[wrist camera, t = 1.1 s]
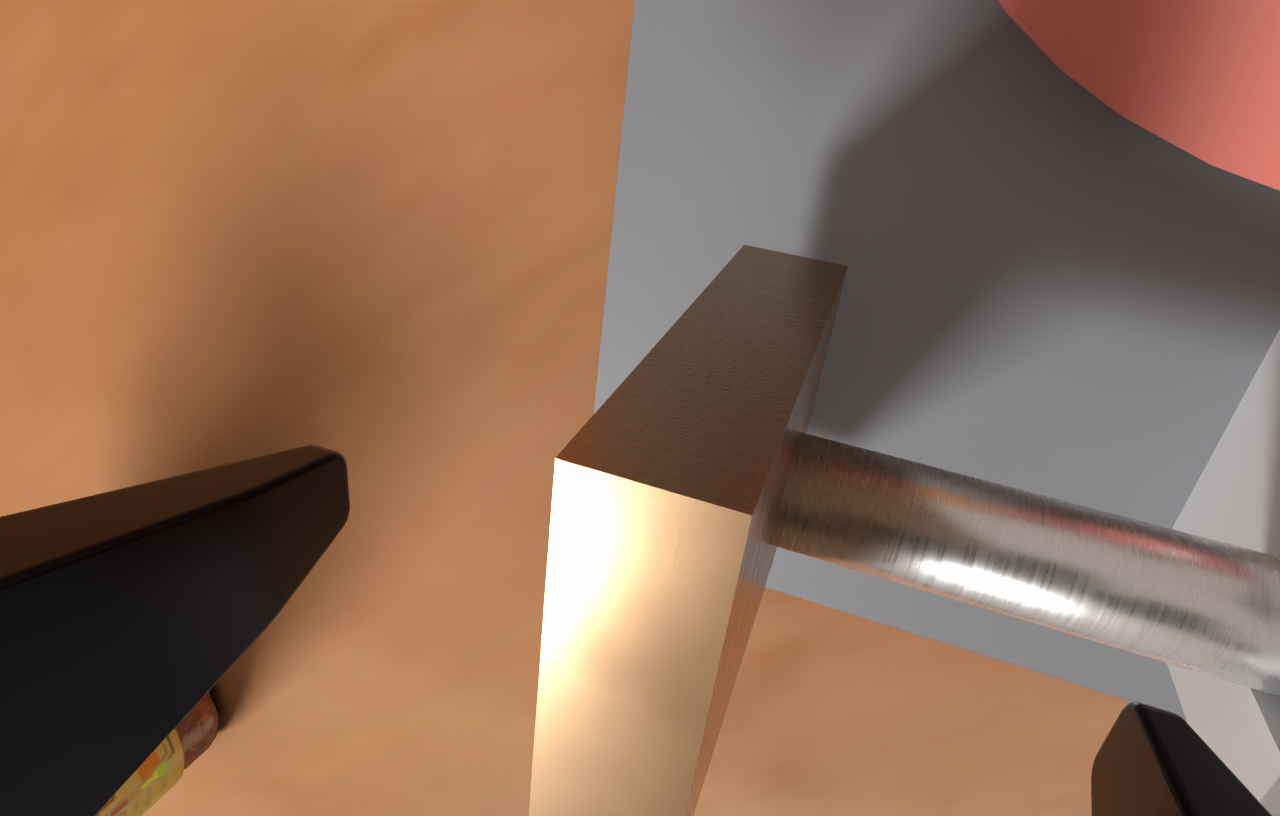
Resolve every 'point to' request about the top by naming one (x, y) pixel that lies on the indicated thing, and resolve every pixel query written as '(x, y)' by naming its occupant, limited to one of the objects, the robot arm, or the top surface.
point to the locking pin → (808, 547)
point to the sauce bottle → (166, 762)
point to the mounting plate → (972, 291)
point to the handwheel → (1175, 70)
